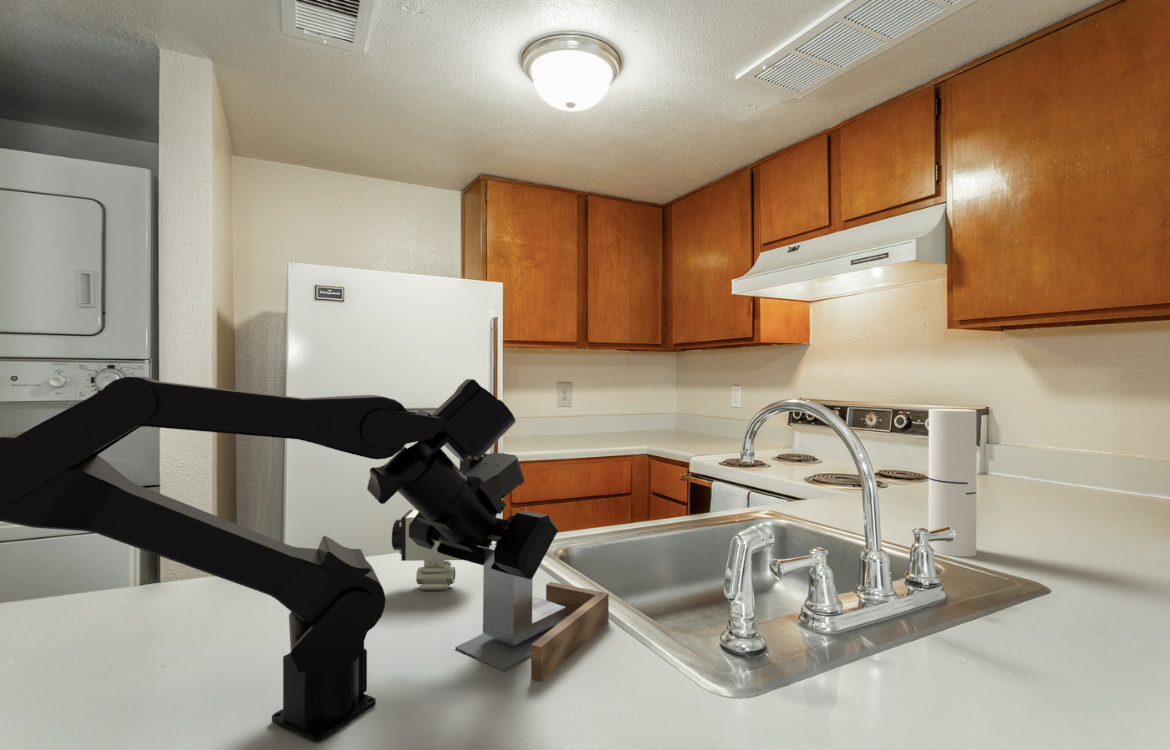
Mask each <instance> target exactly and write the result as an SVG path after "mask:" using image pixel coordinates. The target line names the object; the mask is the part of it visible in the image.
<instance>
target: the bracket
mask: <svg viewBox="0 0 1170 750" xmlns="http://www.w3.org/2000/svg"><path fill="white" fill-rule="evenodd" d="M495 544H496V543H492V545H490V547H489V548H488V549H485V548H484V566H483V577H482V578H483V584H482V585H483V588H482V589H483V591H482V593H483V594H482V596H483V597H482V598H483V599H482V601H483V602H482V604H483V605H482V634H486V635H489V636H491V637H493V638H496V639H498V640H500V641H503V642H505V643H507V644H509V645H512V646H514V645H516V644H518V643H520V642H522V641H524V640H526V639H528V638H530V637H532V636H534V635H536V634H538V633H540V632H542V631H544V630H546V629H548V628H550V627H552V626H554V625H556V624H558V623H559V622H561V621H563V620H564V619H565V618H566V617H567V616H566V607H564V606H561V605H558V604H555V603H552V602H550V601H547V600H546V599H543V598H540V597H538V596H535V597H533V582H534V581H533V578H534V577H533V578H532V579H526V578H523V577H519V576H515V575H511V574H506V573H503V572H500V571H496V570H493V569H491V567H492V565H493V563H494V549H495V547H496V545H495Z"/></svg>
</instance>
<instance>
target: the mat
mask: <svg viewBox="0 0 1170 750" xmlns="http://www.w3.org/2000/svg"><path fill="white" fill-rule="evenodd" d="M567 617H568V616H566V618H567ZM559 623H560V622H559ZM559 623H558V624H559ZM556 625H557V624H556ZM556 625H554V626H552V627H550V628H548V629H546V630H544V631H542V632H540V633H538V634H536V635H534V636H532V637H530V638H528V639H526V640H524V641H522V642H520V643H518V644H516V645H514V646H512V645H509V644H507V643H505V642H503V641H500V640H498V639H496V638H493V637H491V636H489V635H486V634H484V633H482V634H480V635H477V636H476V637H473V638H471V639H469V640H467V641H465V642H463V643H461V644H459V645H457V646H454V648H456V649H455V650H457V649H458V650H457V651H459V650H460V652H461V651H463V652H465V653H464V654H466V653H468V654H469V655H468V654H467V655H468V656H470V655H471V657H472V656H474V657H476V658H475V659H477V658H478V659H477V660H479V661H481V660H482V661H481V662H483V661H484V662H483V663H485V662H486V663H485V664H488V663H489V664H488V665H490V664H491V665H490V666H492V665H493V667H494V666H495V667H494V668H496V667H498V668H497V669H499V668H500V669H499V670H501V669H502V670H501V671H503V670H504V672H505V670H506V671H507V669H508V670H509V669H511V668H513V667H515V666H517V665H518V664H520V663H521V662H523V661H525V660H527V659H529V658H531V644H533V643H534V642H535V641H536V640H538V639H539V638H540V637H542V636H543V635H544V634H546V633H547V632H548V631H550V630H551V629H552V628H554V627H555V626H556ZM463 652H462V653H463ZM474 657H473V658H474Z"/></svg>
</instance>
